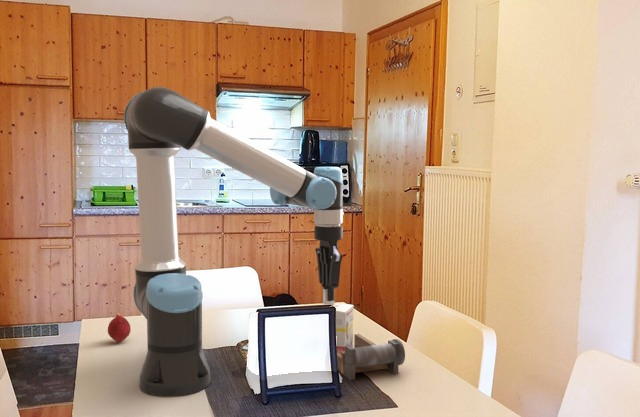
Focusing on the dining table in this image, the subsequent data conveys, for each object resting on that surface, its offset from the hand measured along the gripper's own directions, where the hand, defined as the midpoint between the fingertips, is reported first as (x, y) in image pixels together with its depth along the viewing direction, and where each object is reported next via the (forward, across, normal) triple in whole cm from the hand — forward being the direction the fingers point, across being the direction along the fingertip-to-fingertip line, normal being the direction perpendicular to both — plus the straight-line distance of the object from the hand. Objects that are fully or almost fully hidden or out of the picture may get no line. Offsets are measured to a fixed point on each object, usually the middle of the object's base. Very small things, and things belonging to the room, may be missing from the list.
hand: (328, 311), depth 164 cm
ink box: (+9, -8, 0) cm, 12 cm away
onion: (+8, +20, +52) cm, 57 cm away
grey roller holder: (+8, -18, 0) cm, 20 cm away
